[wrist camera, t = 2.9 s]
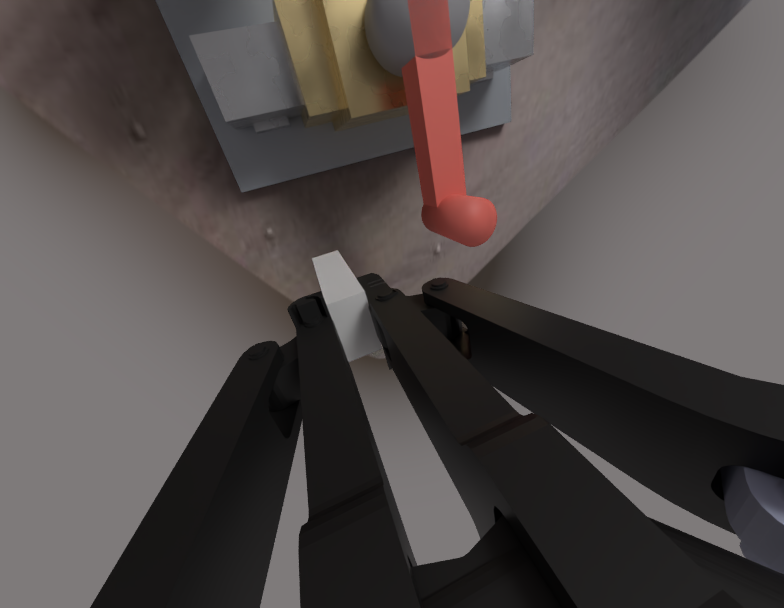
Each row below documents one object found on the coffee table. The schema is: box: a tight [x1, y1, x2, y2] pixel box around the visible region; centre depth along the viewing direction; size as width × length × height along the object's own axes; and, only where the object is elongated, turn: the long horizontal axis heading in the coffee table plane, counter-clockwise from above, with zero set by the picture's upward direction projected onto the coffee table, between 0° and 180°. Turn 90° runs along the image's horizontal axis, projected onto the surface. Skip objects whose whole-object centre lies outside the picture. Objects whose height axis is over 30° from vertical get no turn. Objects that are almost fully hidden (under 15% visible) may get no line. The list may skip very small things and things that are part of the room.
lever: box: [364, 0, 497, 247], centre depth 16 cm, size 14×4×6 cm, turn 14°
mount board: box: [155, 0, 511, 192], centre depth 23 cm, size 25×12×1 cm, turn 104°
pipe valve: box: [189, 0, 534, 134], centre depth 19 cm, size 22×7×7 cm, turn 104°
